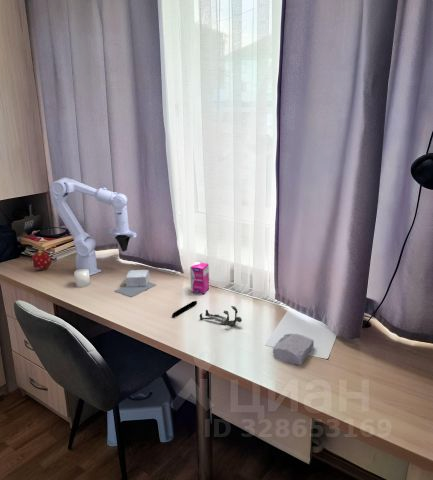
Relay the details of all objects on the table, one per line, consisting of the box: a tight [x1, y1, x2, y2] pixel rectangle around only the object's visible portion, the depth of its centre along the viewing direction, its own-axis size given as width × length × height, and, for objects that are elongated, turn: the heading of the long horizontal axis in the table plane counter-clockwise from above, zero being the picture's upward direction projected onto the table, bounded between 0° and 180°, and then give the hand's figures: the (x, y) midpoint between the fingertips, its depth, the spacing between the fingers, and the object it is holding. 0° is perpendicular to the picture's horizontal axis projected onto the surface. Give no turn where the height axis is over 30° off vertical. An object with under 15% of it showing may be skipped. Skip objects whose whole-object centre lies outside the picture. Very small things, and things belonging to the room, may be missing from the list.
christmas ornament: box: [31, 249, 52, 271], centre depth 186 cm, size 9×9×10 cm
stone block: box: [272, 333, 315, 366], centre depth 120 cm, size 12×5×10 cm
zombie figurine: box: [199, 305, 243, 327], centre depth 136 cm, size 5×7×15 cm
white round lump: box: [73, 269, 91, 288], centre depth 170 cm, size 6×6×6 cm
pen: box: [171, 300, 198, 319], centre depth 146 cm, size 2×14×2 cm, turn 143°
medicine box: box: [125, 269, 150, 287], centre depth 169 cm, size 8×4×9 cm
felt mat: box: [114, 281, 157, 298], centre depth 165 cm, size 10×14×1 cm
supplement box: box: [189, 261, 210, 295], centre depth 160 cm, size 6×6×12 cm
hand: (124, 250), depth 180 cm, fingers closed
